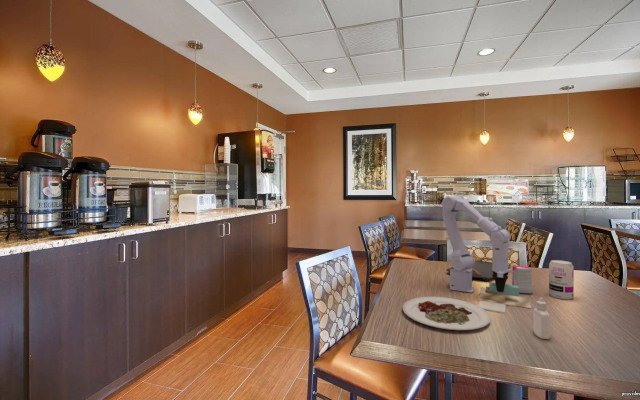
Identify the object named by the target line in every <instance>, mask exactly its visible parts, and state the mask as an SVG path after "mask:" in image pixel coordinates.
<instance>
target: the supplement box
mask: <svg viewBox="0 0 640 400" xmlns="http://www.w3.org/2000/svg"><path fill="white" fill-rule="evenodd" d="M511 278H512V280H511V281H512V282H511V285H516V286H518V287H519V295H532V293H533V292H532V290H533V289H532V287H533V284H532V283H533V282H532V281H533V279H532V278H533V270H532V268H530V267H529V266H526V265H512V277H511Z"/></svg>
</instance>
